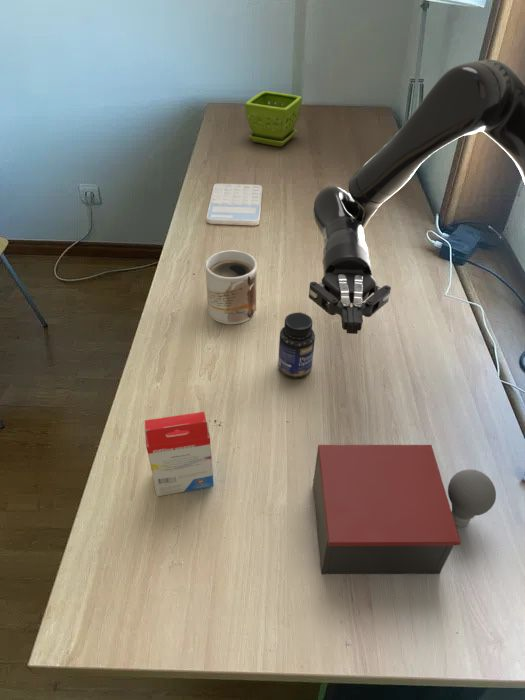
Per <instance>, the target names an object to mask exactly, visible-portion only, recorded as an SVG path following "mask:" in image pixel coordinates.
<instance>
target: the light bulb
mask: <svg viewBox="0 0 525 700" xmlns="http://www.w3.org/2000/svg"><path fill="white" fill-rule="evenodd" d="M447 497H448V500H449V501H450V503H451V512H452V515H453V519H454V522H455V525H456V527H458V528H465V527H467V526H468V525H469V524H470V522H471V520H472V519H473V518H475V517H476V516H483V515H484V514H486V513H488V512H489V511H490V510H491V509H492V508H493V506H494V505H495V503H496V499H497V491H496V488H495V484H494V483H493V481H492V480H491V479H490V477H489V476H488V475H486V474H485V473H484V472H482V471H479V470H476V469H472V468H471V469H470V468H469V469H462V470H460V471H458V472H457V473H455V474H454V475H452V477H451V478H450V480H449V482H448V486H447Z"/></svg>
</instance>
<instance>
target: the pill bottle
mask: <svg viewBox="0 0 525 700" xmlns="http://www.w3.org/2000/svg"><path fill="white" fill-rule="evenodd" d="M315 341H316V333H315V330H314V329H313V319H312V317H311V316H309V315H308V314H306V313H303V312H291V313H290V314H287V315H286V317H285V318H284V326H283V327H282V328H281V330H280V332H279V344H278V361H277V368H278V370H279V372H280V373H281V375H283V376H284V377H286V378H288V379H293V380H298V379H299V380H300V379H304V378H305V377H307V376H308V375H310V374H311V372H312V369H313V360H314V350H315Z"/></svg>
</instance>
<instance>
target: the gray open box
mask: <svg viewBox="0 0 525 700" xmlns="http://www.w3.org/2000/svg"><path fill="white" fill-rule="evenodd" d="M312 494H313V502H314V503H313V504H314V513H315V525H316V535H317V546H318V547H317V548H318V556H319V566H320V574H321V575H440V574H441V573H442V570H443V568H444V566H445V564H446V562H447V560H448V558H449V556H450V554H451V551H452V550H453V547H454V546H328V537H327V528H326V519H325V510H324V500H323V491H322V482H321V473H320V464H319V455H318V450H317V452H316V459H315V466H314V474H313V480H312Z"/></svg>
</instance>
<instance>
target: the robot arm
mask: <svg viewBox="0 0 525 700" xmlns="http://www.w3.org/2000/svg"><path fill="white" fill-rule="evenodd" d="M479 132H482V133H484V134H485V135H487V137H489V138H490V139H491V140H493V141H494V143H496V144H497V145H498V146H499V147H500V148H501V149H502V150H504V152H506V154H507V155H508V156H509V157H510V158H511V159H512V161H513V162H514V164H515V166H516V168H517V169H518V170H519V173H520V175H521V178H522V181H523V183H524V184H525V83H524V82H523V80H521V78H520V77H519V76H518V75H517V73H516V72H515V71H514V70H513V69H512V68H511V67H510V66H509V65H507V64H506V63H504V62H501V61H499V60H497V59H489V58H488V59H480V60H475V61H469V62H465V63H461V64H458V65H455V66H453V67H451V68H449V69H448V70H447V71H445V72H444V73H443V74H442V76H441V77H439V79H438V80H437V81H436V82H435V84H434V85H433V86H432V88H430V90H429V91H428V92H427V94H426V96H425V97H424V98H423V100H422V101H421V102H420V103H419V105H418V106H417V108H416V109H415V110H414V112H413V113H412V114H411V115H410V117H409V118H408V119H407V120H406V122H405V123H404V124H403V125H402V126H401V128H400V129H399V130H398V131H397V132H396V134H395V135H393V136H392V138H391V139H390V140H389V141H388V142H387V143H386V144H385V145H384V146H383V147H382V148H381V149H379V150H378V151H377V152H376V153H375V155H373V156H372V157H371V158H370V159H369V160H368V161H366V163H364V165H362V166H361V167H360V168H359V169H358V170H357V171H356V172H355V173H354V174H353V175H352V176H351V178H350V179H349V181H348V187H347V188H348V192H347V191H346V190H344V189H342V188H341V187H338V186H336V185H329V186H327V187H324V188H323V189H322V190H320V191H319V192H318V194H317V196H315V199H314V202H313V207H312V215H313V220H314V223H315V225H316V227H317V228H318V229H317V230H318V231H319V233H320V235H321V236H322V238H323V251H322V265H323V277H322V279H321V281H320V282H319V283H318V282H317V281H311V282H309V288H308V298H309V299H310V300H311V301H312V302H314V303H315V304H316V305H317V306H318V307H320V308H321V309H322V310H323V311H324V312H326V313H327V314H328V315H330V316H335V315H339V316H340V322H341V328H342V330H343V331H346V334H352V335H357V334H358V331H362V329H363V323H364V318H363V316H364V317H366V318H371V317H372V316H373V315H375V313H377V312H378V311H379V310H380V309H381V308H382V307H383V306H385V305H386V304H388V302H389V299H390V295H391V291H392V287H391V286H390V285H387V284H386V285H383V286H380V285H378V284H377V281H376V279H375V278H374V277H373V273H372V267H371V260H370V254H369V248H368V245H367V243H366V237H365V231H364V230H365V228H366V227H367V226H368V224H369V222H370V220H371V219H372V217H373V216H374V214H375V213H376V211H378V209H379V207H380V206H381V205H383V203H385V202H386V201H387V200H388V199H390V198H391V197H393V195H395V194H396V193H397V192H398V191H399V190H401V189H402V188H403V187H404V186H405V185H406V184H407V183H408V182H409V181H410V180H411V178H412V177H413V176H414V174H415V173H416V171H417V170H418V168H419V167H420V166H421V165H422V163H424V162H425V161H426V160H427V159H428V158H429V157H431V156H432V155H433V154H434V153H435V152H437V151H438V150H440V149H442V148H443V147H445V146H447V145H449V144H450V143H452V142H454V141H456V140H457V139H459V138H461V137H463V136H470V135H474V134H477V133H479Z"/></svg>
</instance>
